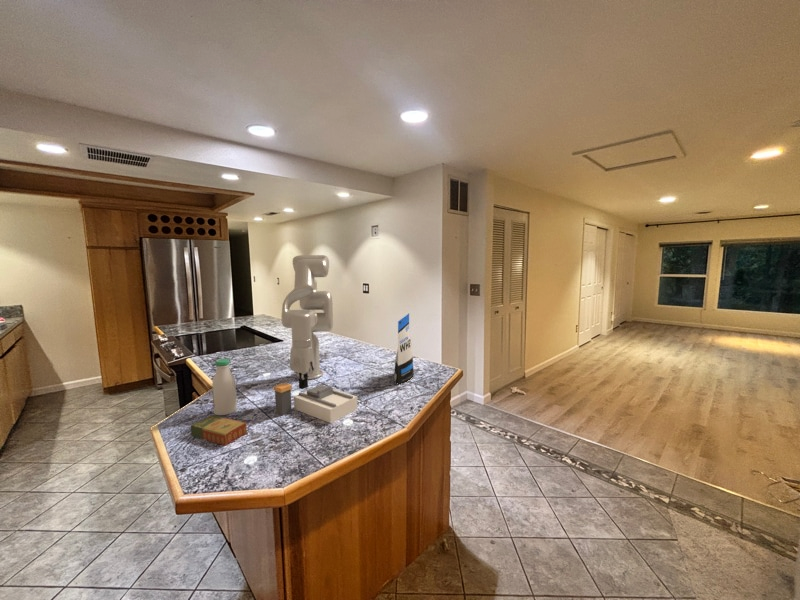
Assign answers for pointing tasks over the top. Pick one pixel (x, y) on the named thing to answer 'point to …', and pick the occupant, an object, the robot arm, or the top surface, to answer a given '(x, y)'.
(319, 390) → the shutter
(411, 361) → the protein powder
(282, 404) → the plug
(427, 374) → the top surface
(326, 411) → the socket
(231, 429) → the carton
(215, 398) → the milk bottle
